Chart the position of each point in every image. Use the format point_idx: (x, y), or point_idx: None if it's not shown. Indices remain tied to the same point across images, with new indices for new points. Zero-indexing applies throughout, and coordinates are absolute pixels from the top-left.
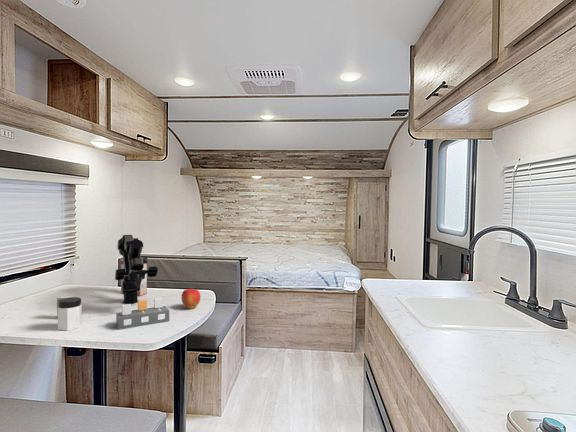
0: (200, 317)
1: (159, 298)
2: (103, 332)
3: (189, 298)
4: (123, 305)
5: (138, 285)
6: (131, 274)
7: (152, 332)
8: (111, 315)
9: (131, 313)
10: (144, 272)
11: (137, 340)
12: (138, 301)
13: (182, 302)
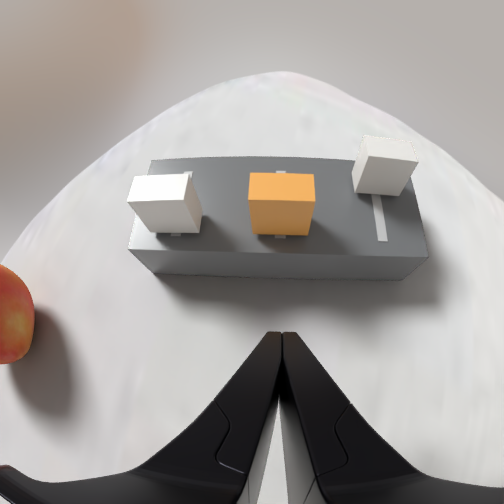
0: (67, 185)
1: (149, 188)
2: (437, 201)
3: (3, 266)
4: (408, 148)
5: (290, 342)
6: (497, 500)
7: (270, 118)
8: (407, 442)
9: (349, 198)
10: (20, 474)
11: (324, 91)
12: (313, 180)
13: (26, 334)
